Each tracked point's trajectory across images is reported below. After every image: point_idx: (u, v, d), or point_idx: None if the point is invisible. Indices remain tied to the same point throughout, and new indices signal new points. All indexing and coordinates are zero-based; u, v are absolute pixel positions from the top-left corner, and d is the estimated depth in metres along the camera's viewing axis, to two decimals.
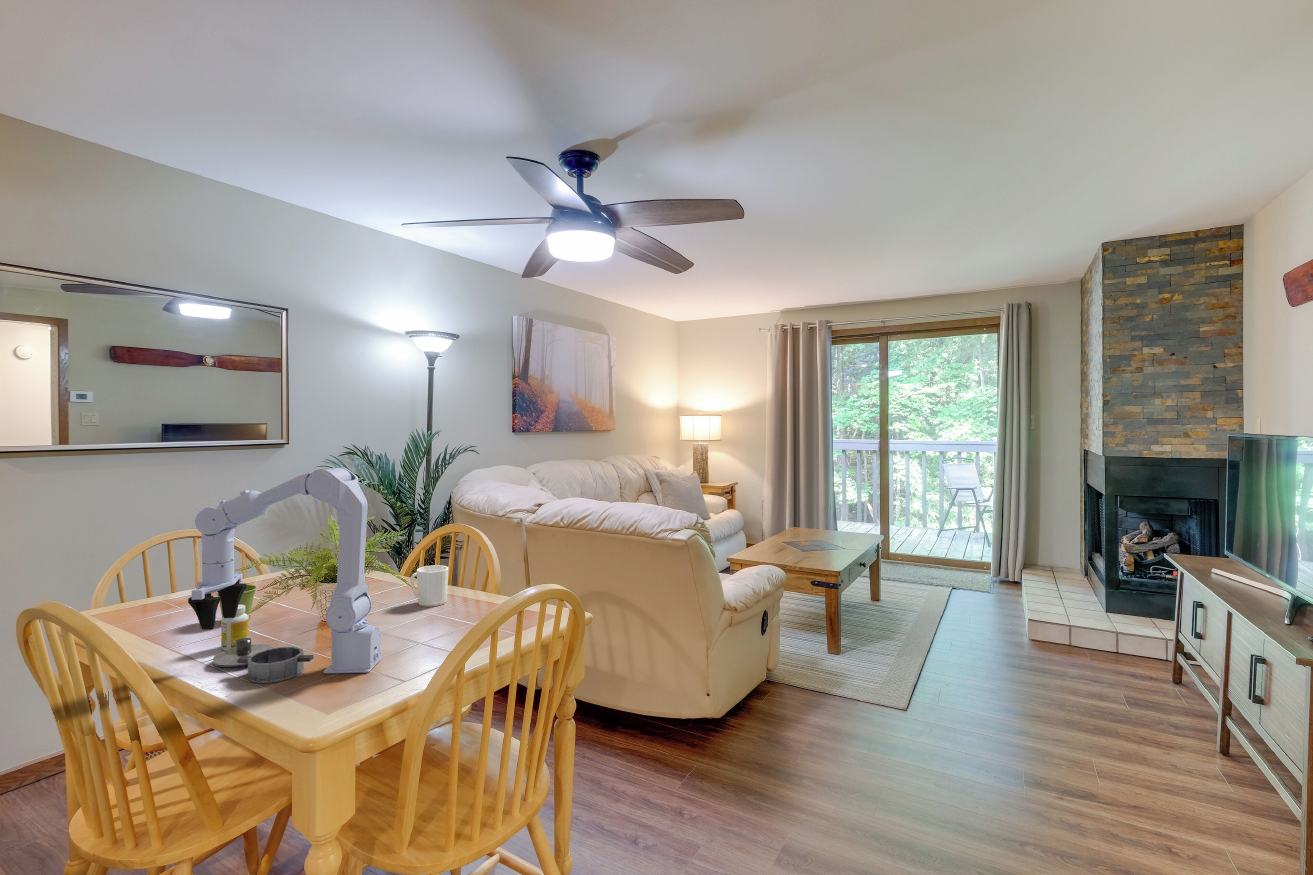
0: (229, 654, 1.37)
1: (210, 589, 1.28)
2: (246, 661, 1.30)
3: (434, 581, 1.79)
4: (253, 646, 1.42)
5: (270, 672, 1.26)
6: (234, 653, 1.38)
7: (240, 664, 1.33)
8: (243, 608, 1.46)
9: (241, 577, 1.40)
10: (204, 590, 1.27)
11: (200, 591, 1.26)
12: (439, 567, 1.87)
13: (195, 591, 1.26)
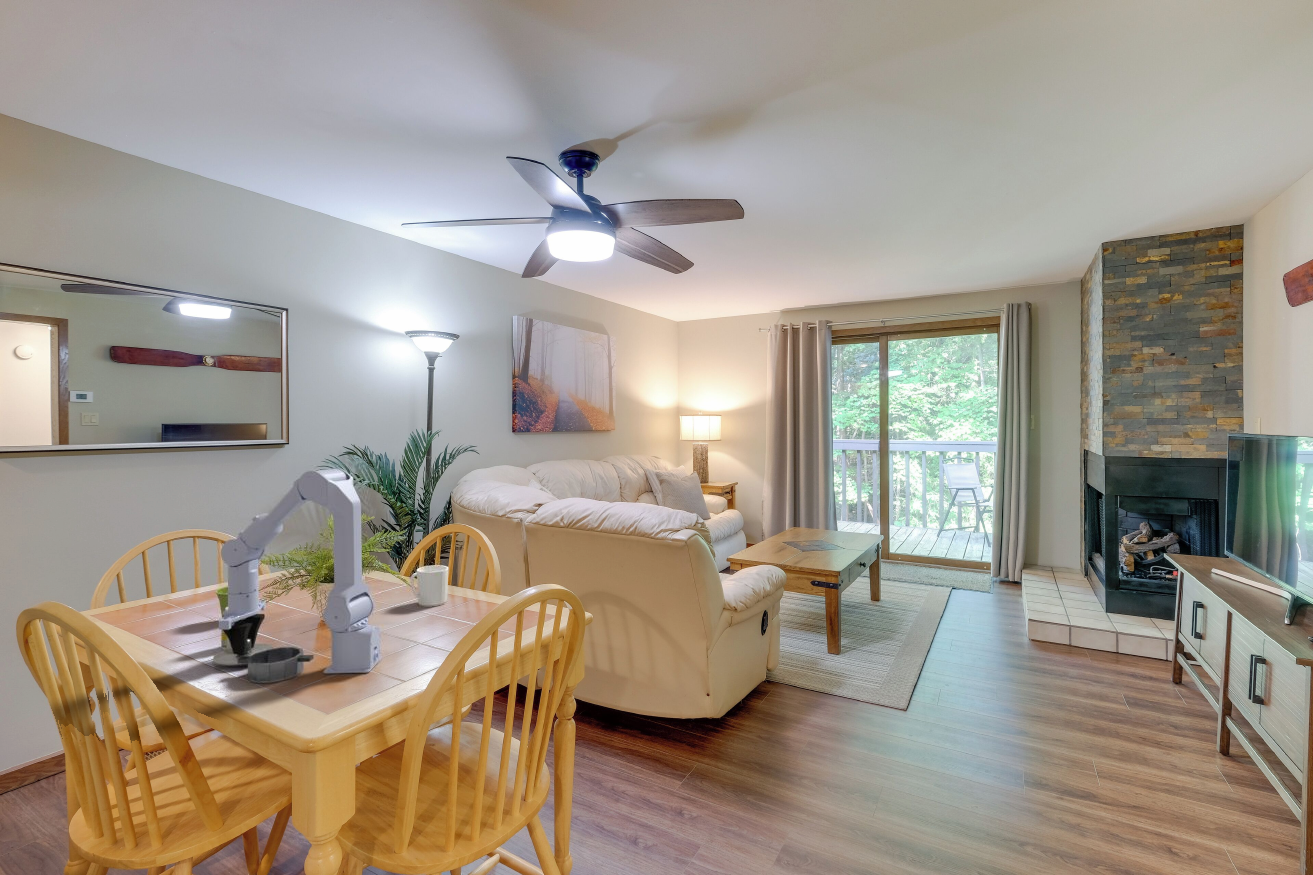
0: (229, 653, 1.37)
1: (236, 619, 1.33)
2: (246, 661, 1.30)
3: (434, 581, 1.79)
4: None
5: (270, 672, 1.26)
6: None
7: (240, 663, 1.33)
8: None
9: (264, 605, 1.45)
10: (231, 620, 1.32)
11: (227, 621, 1.31)
12: (439, 567, 1.87)
13: (222, 621, 1.31)
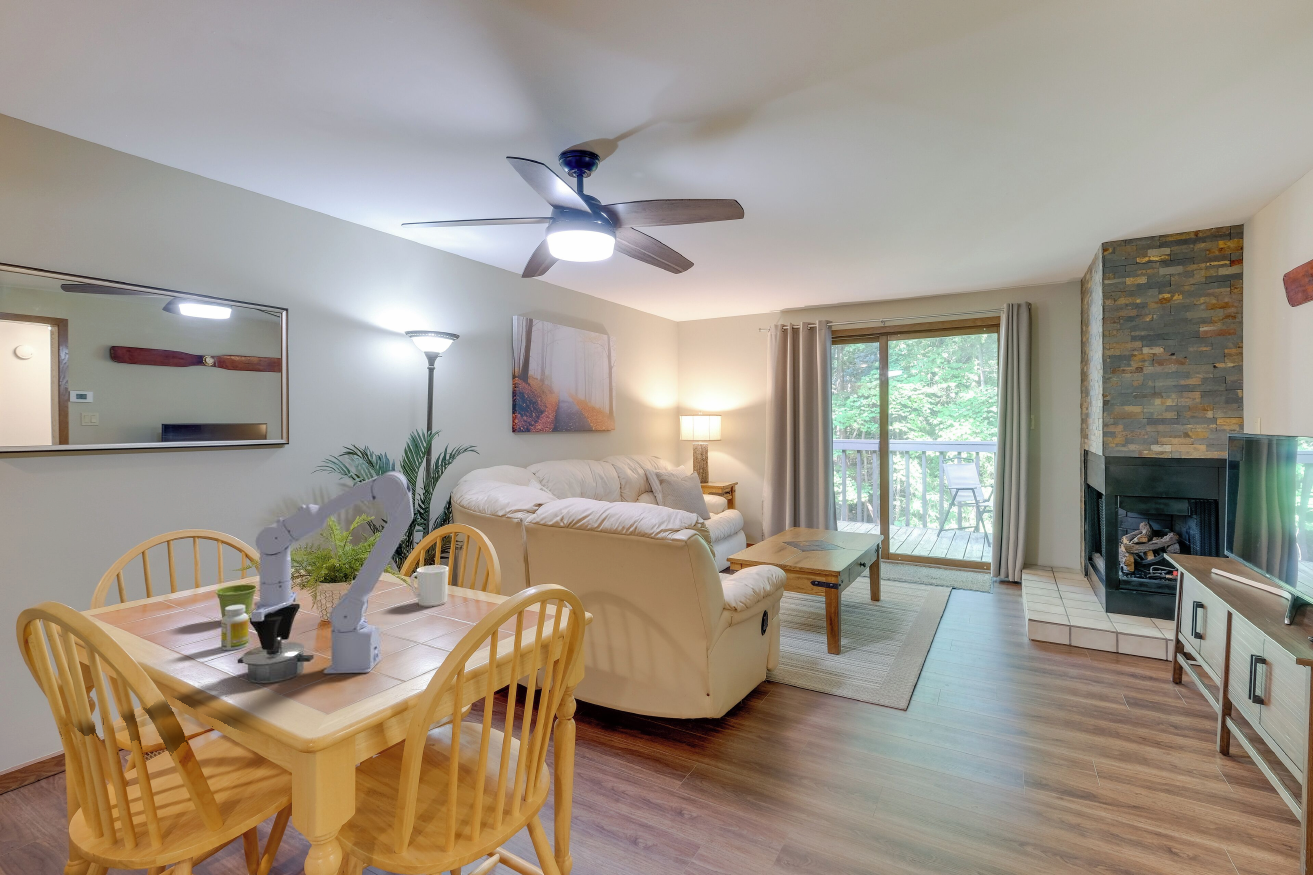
0: (259, 652, 1.31)
1: (269, 610, 1.26)
2: None
3: (434, 581, 1.79)
4: (284, 644, 1.35)
5: (270, 672, 1.26)
6: (264, 651, 1.31)
7: (268, 663, 1.26)
8: (243, 608, 1.46)
9: (296, 596, 1.38)
10: (264, 611, 1.25)
11: (260, 612, 1.24)
12: (439, 567, 1.87)
13: (255, 612, 1.24)
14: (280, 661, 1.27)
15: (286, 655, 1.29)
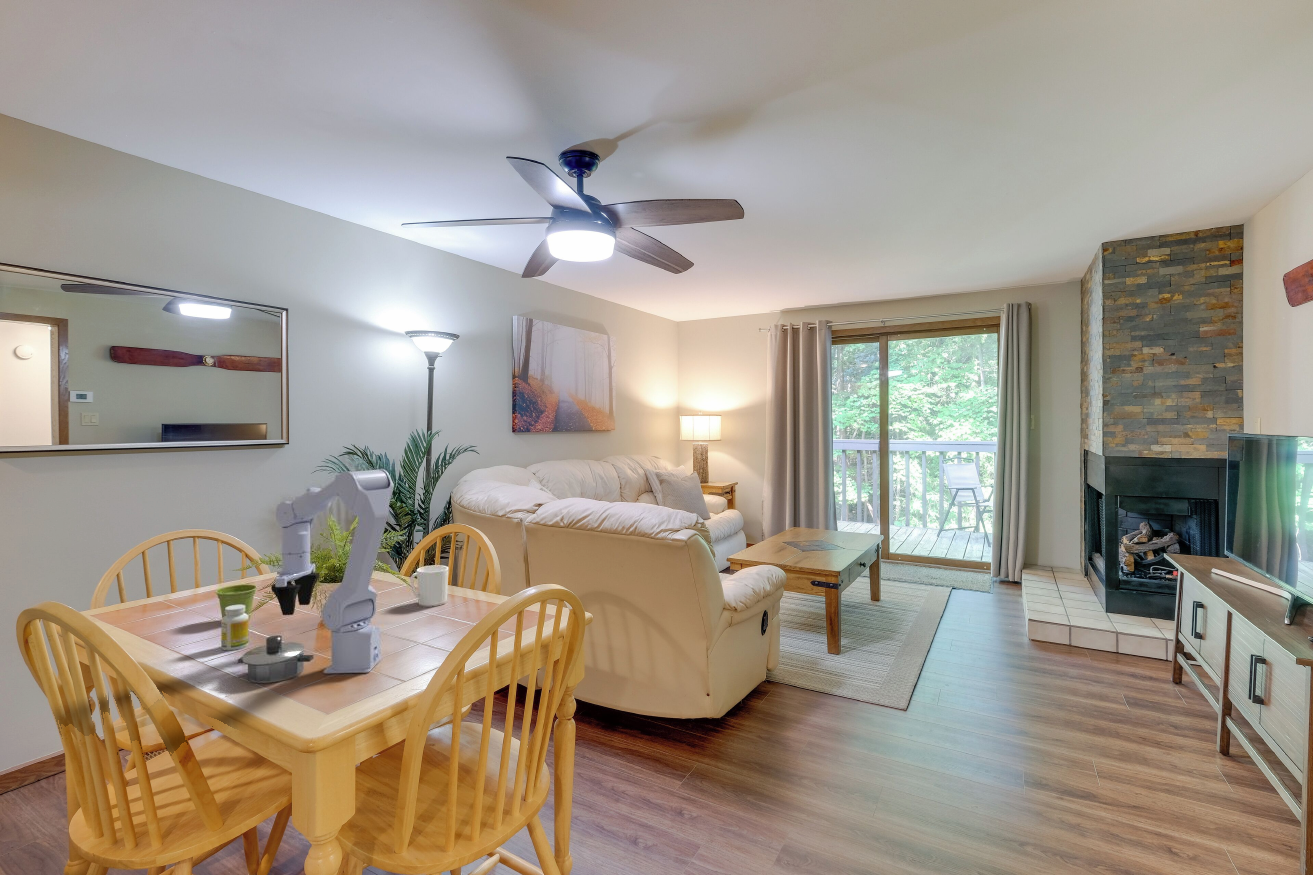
0: (259, 652, 1.31)
1: (291, 577, 1.39)
2: None
3: (434, 581, 1.79)
4: (284, 644, 1.35)
5: (270, 672, 1.26)
6: (264, 651, 1.31)
7: (268, 663, 1.26)
8: (243, 608, 1.46)
9: (314, 567, 1.50)
10: (286, 578, 1.37)
11: (283, 579, 1.36)
12: (439, 567, 1.87)
13: (278, 579, 1.36)
14: (280, 661, 1.27)
15: (286, 655, 1.29)
